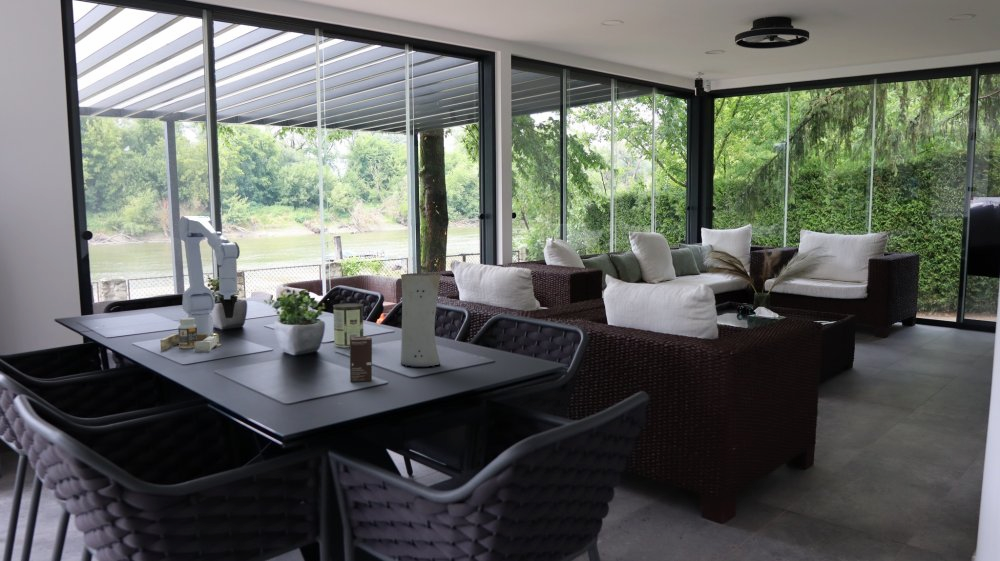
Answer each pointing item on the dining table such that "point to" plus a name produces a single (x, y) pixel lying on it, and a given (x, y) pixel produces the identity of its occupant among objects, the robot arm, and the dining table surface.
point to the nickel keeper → (202, 346)
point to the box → (360, 359)
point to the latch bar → (213, 339)
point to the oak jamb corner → (177, 340)
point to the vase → (419, 319)
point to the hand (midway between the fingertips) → (229, 317)
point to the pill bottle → (187, 333)
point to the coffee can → (347, 323)
